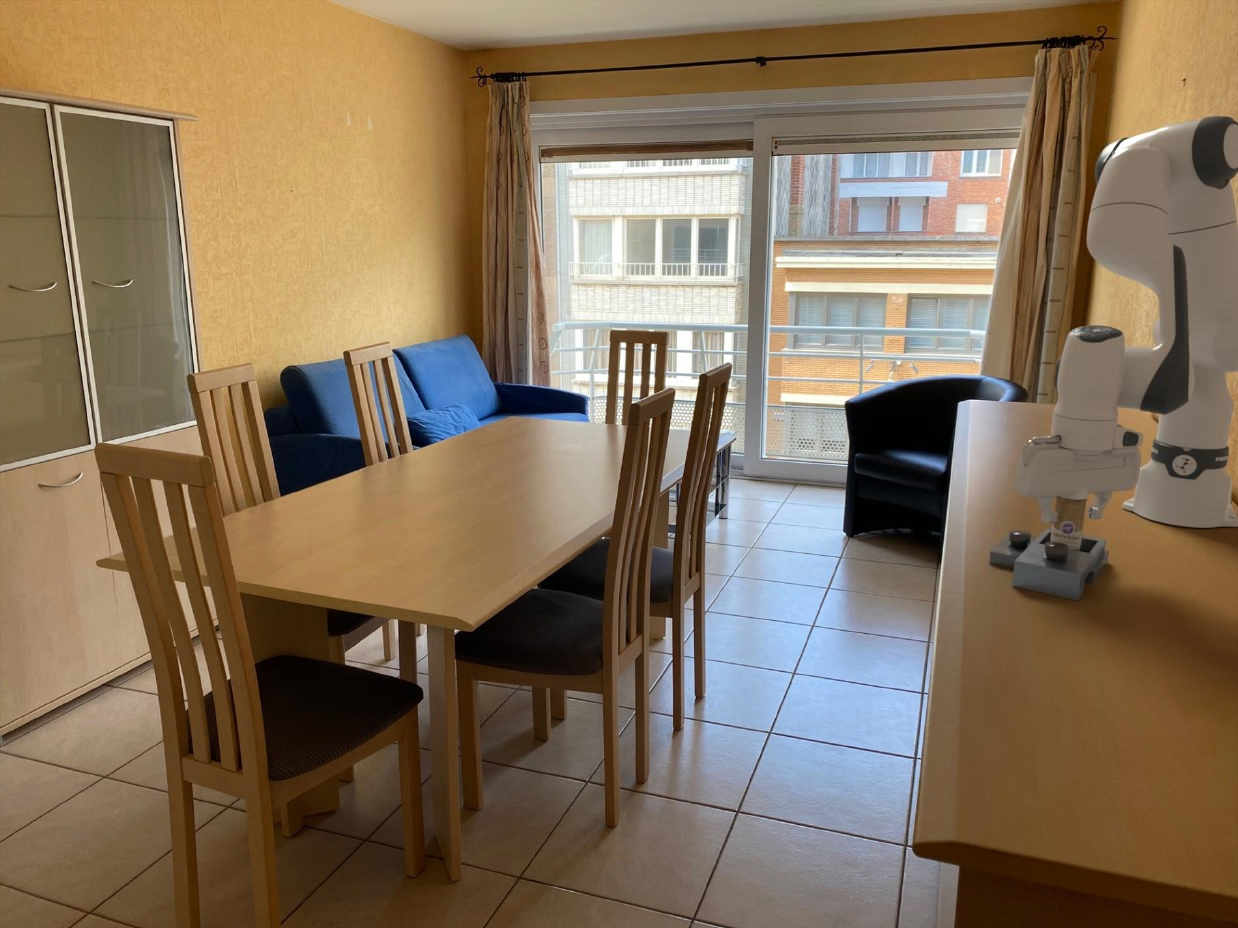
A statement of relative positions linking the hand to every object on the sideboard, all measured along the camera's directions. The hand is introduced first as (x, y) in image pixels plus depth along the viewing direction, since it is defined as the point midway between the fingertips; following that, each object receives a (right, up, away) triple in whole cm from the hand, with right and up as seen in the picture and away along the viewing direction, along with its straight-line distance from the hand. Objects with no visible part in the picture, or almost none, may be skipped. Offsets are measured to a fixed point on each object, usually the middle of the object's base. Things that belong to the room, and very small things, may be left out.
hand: (1071, 520), depth 142 cm
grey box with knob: (-3, -8, -2) cm, 9 cm away
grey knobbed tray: (-2, -7, +3) cm, 8 cm away
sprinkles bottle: (0, -8, +2) cm, 8 cm away
